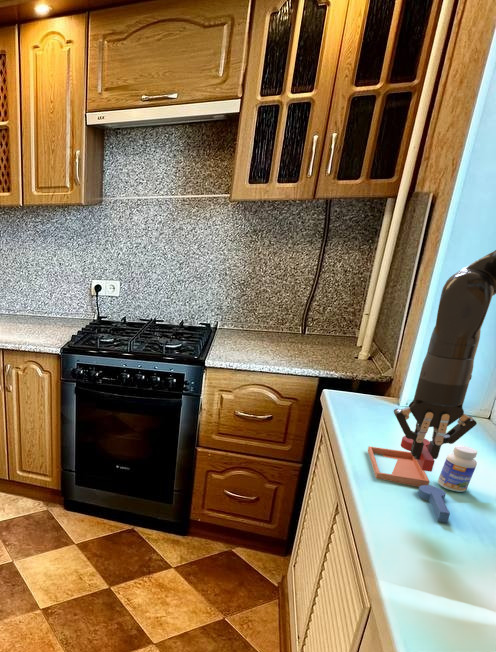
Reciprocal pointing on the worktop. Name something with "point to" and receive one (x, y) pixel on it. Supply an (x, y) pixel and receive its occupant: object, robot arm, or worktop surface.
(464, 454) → the pill bottle
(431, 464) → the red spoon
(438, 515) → the blue spoon
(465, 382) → the robot arm
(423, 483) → the tray
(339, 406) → the worktop surface
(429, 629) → the worktop surface
